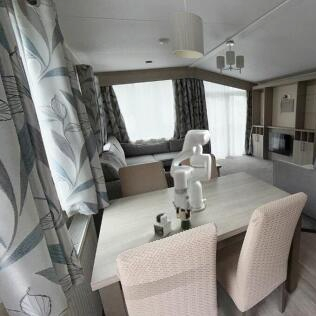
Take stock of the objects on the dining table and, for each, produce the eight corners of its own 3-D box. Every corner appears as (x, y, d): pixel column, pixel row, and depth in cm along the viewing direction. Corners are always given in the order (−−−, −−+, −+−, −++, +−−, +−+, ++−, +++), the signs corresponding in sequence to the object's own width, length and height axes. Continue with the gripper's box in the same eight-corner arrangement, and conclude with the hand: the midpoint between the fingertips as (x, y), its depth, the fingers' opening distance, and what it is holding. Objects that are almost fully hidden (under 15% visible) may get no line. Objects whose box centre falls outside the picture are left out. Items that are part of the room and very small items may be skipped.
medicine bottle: (154, 234, 119) (152, 216, 116) (162, 228, 125) (160, 211, 122) (164, 237, 116) (162, 219, 113) (172, 230, 123) (170, 213, 120)
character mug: (192, 222, 132) (191, 204, 128) (196, 227, 126) (195, 209, 123) (176, 227, 126) (174, 209, 123) (179, 233, 120) (177, 214, 117)
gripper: (196, 190, 117) (198, 217, 121) (175, 185, 126) (178, 210, 130) (187, 195, 111) (189, 223, 115) (166, 189, 119) (169, 215, 124)
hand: (183, 216), depth 122 cm, fingers closed on character mug, 7 cm apart
